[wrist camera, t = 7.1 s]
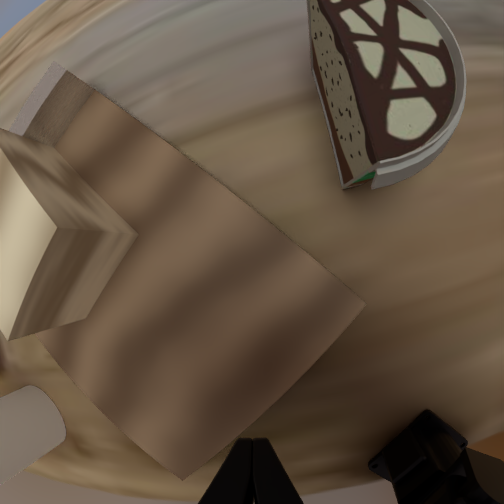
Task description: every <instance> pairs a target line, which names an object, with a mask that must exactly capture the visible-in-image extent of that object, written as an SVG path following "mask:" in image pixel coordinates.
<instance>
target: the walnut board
mask: <svg viewBox="0 0 504 504" xmlns="http://www.w3.org/2000/svg"><path fill="white" fill-rule="evenodd" d="M55 149H56V150H57V152H58V153H59V154H60V155H61V156H62V157H63V158H64V159H65V160H66V161H67V162H68V163H69V164H70V165H71V167H72V168H73V169H74V170H75V171H76V172H77V173H78V174H79V175H80V176H81V177H82V178H83V179H84V180H85V181H86V182H87V183H88V184H89V185H90V186H91V187H92V188H93V189H94V191H95V192H96V193H97V194H98V195H99V196H100V197H101V198H102V199H103V200H104V201H105V202H106V203H107V204H108V205H109V206H110V207H111V208H112V209H113V210H114V211H115V212H116V213H117V214H118V215H119V216H120V217H121V218H122V219H123V220H125V221H126V222H127V223H128V224H129V225H130V226H131V227H132V228H133V229H134V230H135V231H136V232H137V233H138V234H139V235H138V237H137V238H136V239H135V241H134V242H133V244H132V245H131V247H130V248H129V250H128V251H127V253H126V254H125V256H124V257H123V259H122V260H121V262H120V263H119V265H118V267H117V268H116V270H115V271H114V273H113V274H112V276H111V278H110V279H109V281H108V282H107V284H106V285H105V287H104V289H103V290H102V292H101V294H100V295H99V297H98V299H97V300H96V302H95V304H94V305H93V307H92V309H91V310H90V312H89V314H88V315H87V317H86V318H85V319H82V320H79V321H75V322H72V323H68V324H65V325H62V326H58V327H55V328H51V329H48V330H45V331H41V332H38V333H34V334H35V335H36V336H37V338H38V339H39V340H40V342H41V343H42V344H43V346H44V347H45V348H46V349H47V351H48V352H49V353H50V355H51V356H52V357H53V358H54V360H55V361H56V362H57V363H58V364H59V366H60V367H61V368H62V369H63V370H64V372H65V373H66V374H67V375H68V376H69V377H70V379H71V380H72V381H73V382H74V383H75V384H76V385H77V386H78V388H79V389H80V390H81V391H82V392H83V393H84V394H85V395H86V396H87V397H88V398H89V399H90V400H91V401H92V403H93V404H94V405H95V406H96V407H97V408H98V409H99V410H100V411H101V412H102V413H103V414H104V415H105V416H106V417H107V418H108V419H109V420H111V421H112V422H113V423H114V424H115V425H116V426H117V427H118V428H119V429H120V430H121V431H122V432H123V433H124V434H126V435H127V436H128V437H129V438H130V439H131V440H132V441H133V442H135V443H136V444H137V445H138V446H139V447H140V448H142V449H143V450H144V451H145V452H146V453H148V454H149V455H150V456H151V457H152V458H154V459H155V460H156V461H157V462H159V463H160V464H161V465H162V466H164V467H165V468H166V469H168V470H169V471H170V472H172V473H173V474H174V475H176V476H177V477H178V478H180V479H181V480H182V481H183V480H184V479H185V478H187V477H188V476H189V475H191V474H192V473H193V472H195V471H196V470H197V469H198V468H200V467H201V466H202V465H204V464H205V463H206V462H207V461H209V460H210V459H211V458H212V457H214V456H215V455H216V454H217V453H218V452H220V451H221V450H222V449H223V448H224V447H226V446H227V445H228V444H229V443H230V442H232V441H233V440H234V439H235V438H236V437H237V436H239V435H240V434H241V433H242V432H243V431H244V430H245V429H247V428H248V427H249V426H250V425H251V424H252V423H253V422H254V421H255V420H257V419H258V418H259V417H260V416H261V415H262V414H263V413H264V412H265V411H266V410H267V409H268V408H270V407H271V406H272V405H273V404H274V403H275V402H276V401H277V400H278V399H279V398H280V397H281V396H282V395H283V394H284V393H285V392H286V391H287V390H288V389H289V388H290V387H291V386H292V385H293V384H294V383H295V382H296V381H297V380H298V379H299V378H300V377H301V376H302V375H303V374H304V373H305V372H306V371H307V370H308V369H309V368H310V367H311V366H312V365H313V364H314V363H315V362H316V361H317V360H318V359H319V358H320V356H321V355H322V354H323V353H324V352H325V351H326V350H327V349H328V348H329V347H330V346H331V345H332V343H333V342H334V341H335V340H336V339H337V338H338V337H339V336H340V335H341V333H342V332H343V331H344V330H345V329H346V328H347V327H348V325H349V324H350V323H351V322H352V321H353V320H354V318H355V317H356V316H357V315H358V314H359V313H360V311H361V310H362V309H363V308H364V307H365V305H366V304H367V303H366V302H365V301H363V300H362V299H361V298H360V297H359V296H358V295H356V294H355V293H354V292H353V291H352V290H351V289H349V288H348V287H347V286H346V285H345V284H344V283H342V282H341V281H340V280H339V279H338V278H336V277H335V276H334V275H333V274H332V273H330V272H329V271H328V270H327V269H326V268H325V267H323V266H322V265H321V264H320V263H319V262H317V261H316V260H315V259H314V258H313V257H311V256H310V255H309V254H308V253H306V252H305V251H304V250H303V249H302V248H300V247H299V246H298V245H297V244H296V243H294V242H293V241H292V240H291V239H289V238H288V237H287V236H286V235H285V234H283V233H282V232H281V231H280V230H278V229H277V228H276V227H275V226H273V225H272V224H271V223H270V222H269V221H267V220H266V219H265V218H264V217H262V216H261V215H260V214H259V213H257V212H256V211H255V210H254V209H252V208H251V207H250V206H249V205H247V204H246V203H245V202H244V201H242V200H241V199H240V198H238V197H237V196H236V195H235V194H233V193H232V192H231V191H230V190H228V189H227V188H226V187H224V186H223V185H222V184H221V183H219V182H218V181H217V180H215V179H214V178H213V177H212V176H210V175H209V174H208V173H206V172H205V171H204V170H203V169H201V168H200V167H199V166H197V165H196V164H195V163H193V162H192V161H191V160H190V159H188V158H187V157H186V156H184V155H183V154H182V153H180V152H179V151H178V150H176V149H175V148H174V147H172V146H171V145H170V144H168V143H167V142H166V141H164V140H163V139H162V138H160V137H159V136H158V135H156V134H155V133H154V132H152V131H151V130H150V129H148V128H147V127H146V126H144V125H143V124H142V123H140V122H139V121H138V120H136V119H135V118H133V117H132V116H131V115H129V114H128V113H127V112H125V111H124V110H123V109H121V108H120V107H118V106H117V105H116V104H114V103H113V102H111V101H110V100H109V99H107V98H106V97H104V96H103V95H102V94H100V93H99V92H97V91H96V90H94V91H93V93H92V94H91V95H90V97H89V98H88V99H87V101H86V102H85V103H84V105H83V106H82V108H81V109H80V110H79V112H78V113H77V115H76V116H75V117H74V119H73V120H72V122H71V123H70V125H69V126H68V128H67V129H66V131H65V132H64V134H63V135H62V137H61V139H60V140H59V142H58V143H57V145H56V146H55Z"/></svg>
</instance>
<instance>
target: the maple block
mask: <svg viewBox="0 0 504 504" xmlns="http://www.w3.org/2000/svg"><path fill="white" fill-rule="evenodd" d="M138 235H139V234H138V233H137V232H136V231H135V230H134V229H133V228H132V227H131V226H130V225H129V224H128V223H127V222H126V221H125V220H123V219H122V218H121V217H120V216H119V215H118V214H117V213H116V212H115V211H114V210H113V209H112V208H111V207H110V206H109V205H108V204H107V203H106V202H105V201H104V200H103V199H102V198H101V197H100V196H99V195H98V194H97V193H96V192H95V191H94V189H93V188H92V187H91V186H90V185H89V184H88V183H87V182H86V181H85V180H84V179H83V178H82V177H81V176H80V175H79V174H78V173H77V172H76V171H75V170H74V169H73V168H72V167H71V165H70V164H69V163H68V162H67V161H66V160H65V159H64V158H63V157H62V156H61V155H60V154H59V153H58V152H57V150H56V149H55V148H53V147H50V146H47V145H45V144H42V143H39V142H37V141H34V140H31V139H29V138H26V137H23V136H20V135H18V134H15V133H12V132H9V131H7V130H4V129H1V128H0V330H1V331H2V333H3V334H4V336H5V337H6V339H7V341H10V340H13V339H17V338H20V337H24V336H27V335H31V334H34V333H38V332H41V331H45V330H48V329H51V328H55V327H58V326H62V325H65V324H68V323H72V322H75V321H79V320H82V319H85V318H86V317H87V315H88V314H89V312H90V310H91V309H92V307H93V305H94V304H95V302H96V300H97V299H98V297H99V295H100V294H101V292H102V290H103V289H104V287H105V285H106V284H107V282H108V281H109V279H110V278H111V276H112V274H113V273H114V271H115V270H116V268H117V267H118V265H119V263H120V262H121V260H122V259H123V257H124V256H125V254H126V253H127V251H128V250H129V248H130V247H131V245H132V244H133V242H134V241H135V239H136V238H137V237H138Z"/></svg>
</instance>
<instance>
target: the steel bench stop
mask: <svg viewBox="0 0 504 504" xmlns="http://www.w3.org/2000/svg"><path fill="white" fill-rule="evenodd" d="M94 90H95V89H93V88H92V87H90V86H89V85H88V84H86V83H85V82H83V81H82V80H80V79H79V78H78V77H76V76H75V75H73V74H72V73H70V72H69V71H67V70H66V69H64V68H63V67H62V66H60V65H59V64H57V63H56V62H53V64H52V65H51V66H50V68H49V69H48V70H47V72H46V73H45V74H44V76H43V77H42V79H41V80H40V82H39V83H38V84H37V86H36V87H35V89H34V90H33V92H32V93H31V95H30V96H29V98H28V99H27V101H26V103H25V104H24V106H23V107H22V109H21V111H20V112H19V114H18V116H17V117H16V119H15V121H14V122H13V124H12V126H11V128H10V129H9V132H12V133H15V134H18V135H20V136H23V137H26V138H29V139H31V140H34V141H37V142H39V143H42V144H45V145H47V146H50V147H53V148H55V146H56V145H57V143H58V142H59V140H60V139H61V137H62V135H63V134H64V132H65V131H66V129H67V128H68V126H69V125H70V123H71V122H72V120H73V119H74V117H75V116H76V115H77V113H78V112H79V110H80V109H81V108H82V106H83V105H84V103H85V102H86V101H87V99H88V98H89V97H90V95H91V94H92V93H93V91H94Z"/></svg>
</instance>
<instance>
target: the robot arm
mask: <svg viewBox="0 0 504 504" xmlns="http://www.w3.org/2000/svg"><path fill="white" fill-rule="evenodd" d="M427 415H429V416H428V418H425V417H426V416H427ZM462 443H463V444H462ZM461 444H462V445H461ZM467 444H468V441H467V440H466V439H465V438H464V437H463V436H462V435H460V434H459V433H458V432H457V431H455V430H454V429H453V428H452V427H450V426H449V425H448V424H447V423H445V422H444V421H443V420H442V419H440V418H439V417H438V416H437V415H435V414H434V413H433V412H432V411H430V410H426V411H424V412H423V413H422V414H421V415H420V416H419V417H418V418H417V419H416V420H415V421H414V422H413V423H412V424H411V425H410V426H409V427H408V428H407V429H405V430H404V431H403V432H402V433H401V434H400V435H399V436H398V437H396V438H395V439H394V440H393V441H392V442H391V443H390V444H389V445H388V446H386V447H385V448H384V449H383V450H382V451H381V452H380V453H379V454H378V455H376V456H375V457H374V458H373V459H372V460H370V461H369V462H368V467H369V469H370V470H371V471H373V472H374V473H376V474H378V475H379V476H381V477H383V478H385V479H386V480H388V481H390V482H392V485H393V488H394V492H395V495H396V498H397V501H398V504H504V462H503V461H502V460H500V459H497V458H494V457H492V456H489V455H486V454H483V453H480V452H478V451H475V450H472V449H470V448H467V447H466V446H467ZM462 450H463V451H462ZM373 464H376V465H374V466H372V465H373ZM254 503H255V504H303V501H302V500H301V498H300V496H299V494H298V493H297V491H296V489H295V487H294V486H293V484H292V482H291V480H290V479H289V477H288V475H287V473H286V471H285V469H284V468H283V466H282V464H281V462H280V460H279V458H278V457H277V455H276V453H275V451H274V449H273V447H272V445H271V443H270V442H269V440H268V439H267V438H254V439H253V440H252V439H251V438H239V439H237V440H236V442H235V444H234V445H233V447H232V449H231V451H230V452H229V454H228V456H227V457H226V459H225V461H224V462H223V464H222V466H221V467H220V469H219V471H218V472H217V474H216V476H215V477H214V479H213V481H212V482H211V484H210V485H209V487H208V489H207V490H206V492H205V493H204V495H203V497H202V498H201V500H200V501H199V503H198V504H254Z"/></svg>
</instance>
